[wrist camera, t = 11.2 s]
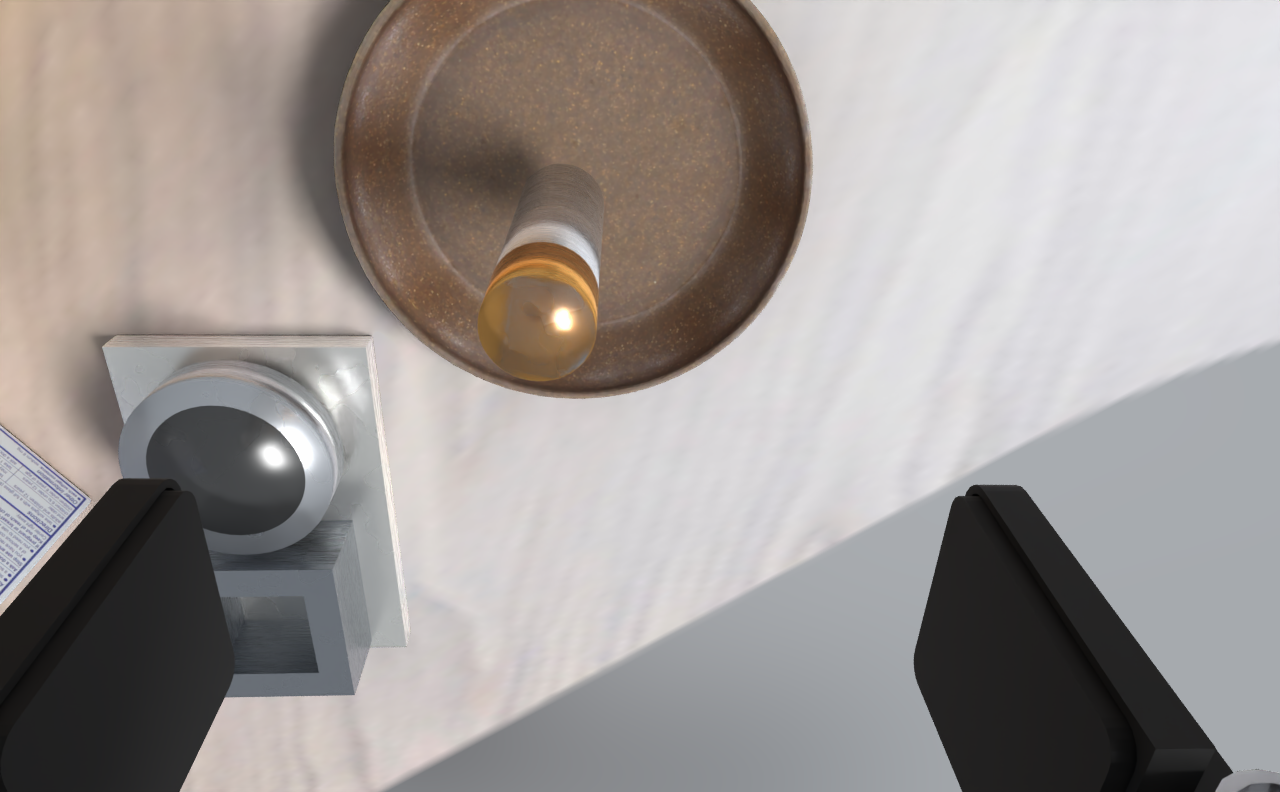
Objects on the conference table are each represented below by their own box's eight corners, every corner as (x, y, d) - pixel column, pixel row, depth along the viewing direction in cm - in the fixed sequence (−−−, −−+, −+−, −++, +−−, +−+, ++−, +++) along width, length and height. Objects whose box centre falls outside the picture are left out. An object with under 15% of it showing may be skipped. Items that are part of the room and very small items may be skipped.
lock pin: (515, 165, 27) (468, 277, 19) (601, 160, 27) (591, 270, 19) (525, 247, 28) (486, 384, 20) (607, 242, 28) (600, 377, 20)
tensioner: (115, 335, 31) (54, 386, 28) (372, 335, 32) (344, 386, 28) (198, 633, 38) (158, 705, 34) (410, 630, 38) (391, 701, 35)
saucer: (756, -139, 26) (773, -146, 23) (824, 315, 33) (842, 346, 30) (279, -10, 27) (249, -4, 24) (442, 404, 34) (430, 440, 31)
